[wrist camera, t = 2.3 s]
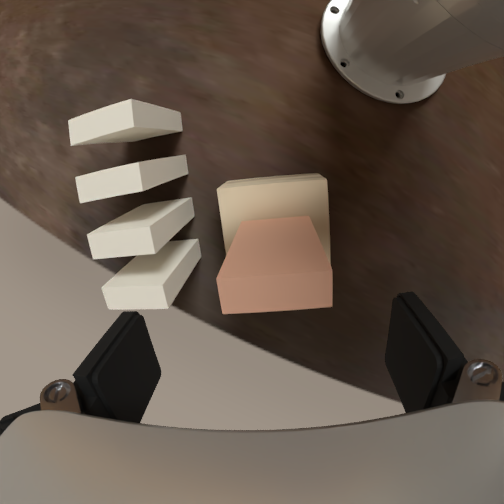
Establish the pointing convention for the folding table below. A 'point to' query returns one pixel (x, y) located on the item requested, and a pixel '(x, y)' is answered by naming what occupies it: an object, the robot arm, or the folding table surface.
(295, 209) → the stand
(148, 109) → the domino
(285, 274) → the domino
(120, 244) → the domino
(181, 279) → the domino
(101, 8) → the folding table surface
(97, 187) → the domino
